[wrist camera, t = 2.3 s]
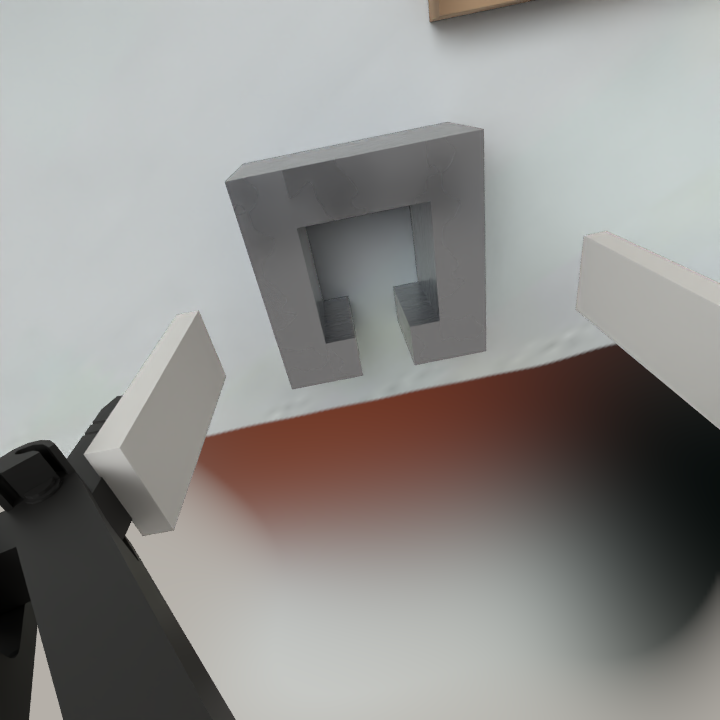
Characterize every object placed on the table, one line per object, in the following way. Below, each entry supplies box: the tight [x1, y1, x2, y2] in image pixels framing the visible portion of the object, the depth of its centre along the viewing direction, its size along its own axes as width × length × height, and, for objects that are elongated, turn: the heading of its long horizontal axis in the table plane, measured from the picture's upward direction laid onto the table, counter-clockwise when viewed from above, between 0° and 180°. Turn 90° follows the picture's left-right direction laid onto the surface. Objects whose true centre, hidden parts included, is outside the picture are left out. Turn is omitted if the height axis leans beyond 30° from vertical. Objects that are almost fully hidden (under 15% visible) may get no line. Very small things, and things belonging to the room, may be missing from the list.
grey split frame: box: [225, 122, 486, 389], centre depth 19 cm, size 9×9×4 cm
